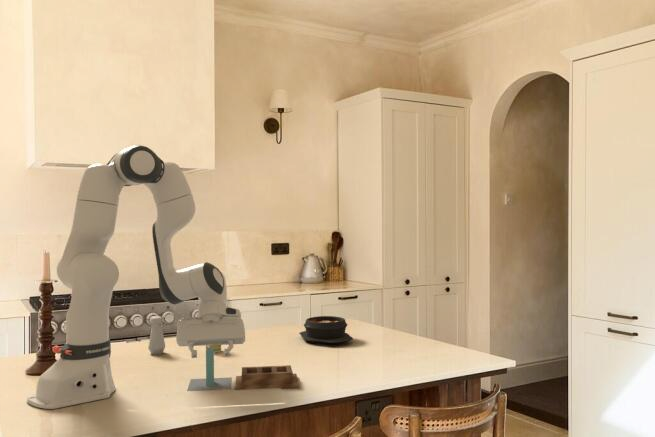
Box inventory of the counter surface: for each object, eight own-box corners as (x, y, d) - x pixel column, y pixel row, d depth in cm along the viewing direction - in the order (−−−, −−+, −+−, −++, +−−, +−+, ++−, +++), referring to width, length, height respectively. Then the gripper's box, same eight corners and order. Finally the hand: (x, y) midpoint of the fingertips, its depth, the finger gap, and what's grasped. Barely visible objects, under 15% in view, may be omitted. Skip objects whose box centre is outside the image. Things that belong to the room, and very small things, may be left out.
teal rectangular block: (206, 386, 174) (205, 350, 174) (207, 382, 178) (206, 347, 177) (213, 385, 174) (212, 350, 174) (214, 381, 178) (213, 347, 178)
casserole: (288, 338, 240) (287, 317, 240) (326, 332, 251) (326, 312, 251) (324, 350, 219) (324, 326, 219) (364, 343, 230) (364, 321, 230)
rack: (235, 391, 170) (235, 376, 170) (236, 379, 182) (235, 366, 182) (299, 388, 172) (299, 374, 172) (296, 376, 184) (296, 363, 184)
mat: (186, 392, 169) (186, 390, 169) (190, 380, 181) (190, 379, 181) (230, 390, 171) (230, 388, 171) (231, 378, 182) (231, 377, 182)
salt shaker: (144, 354, 215) (144, 317, 215) (156, 350, 220) (156, 314, 220) (157, 356, 212) (156, 318, 212) (168, 352, 217) (168, 316, 217)
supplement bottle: (224, 350, 219) (224, 323, 219) (214, 353, 215) (214, 326, 215) (212, 349, 222) (212, 322, 222) (202, 352, 217) (202, 325, 217)
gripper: (176, 312, 184) (172, 351, 174) (244, 309, 186) (245, 348, 177) (178, 324, 188) (175, 363, 178) (245, 321, 191) (245, 360, 181)
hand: (210, 356), depth 178 cm, fingers open, 8 cm apart
